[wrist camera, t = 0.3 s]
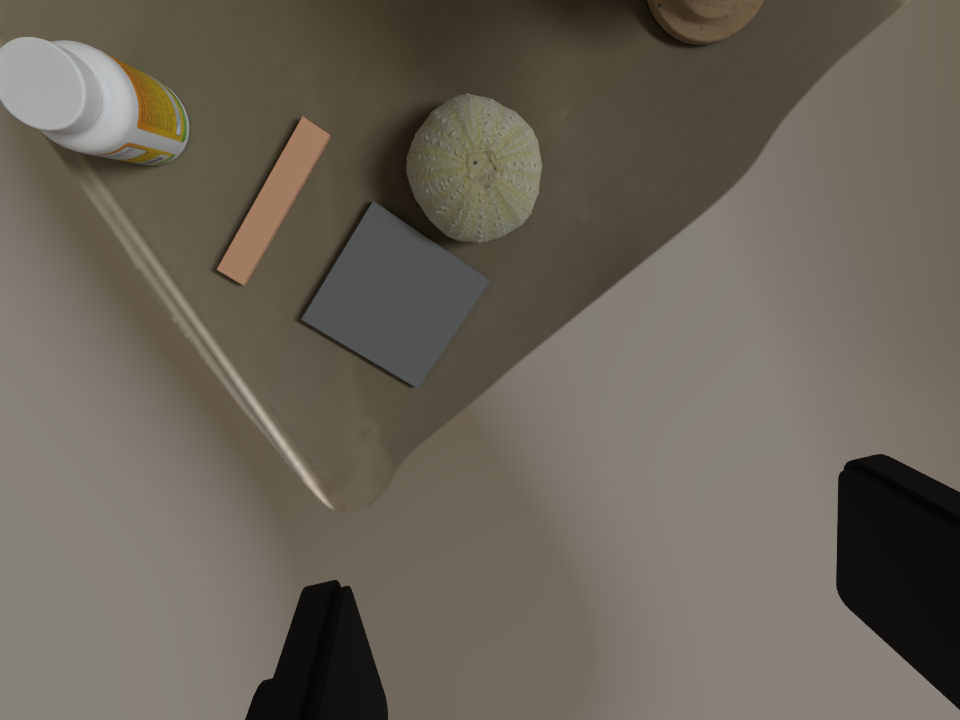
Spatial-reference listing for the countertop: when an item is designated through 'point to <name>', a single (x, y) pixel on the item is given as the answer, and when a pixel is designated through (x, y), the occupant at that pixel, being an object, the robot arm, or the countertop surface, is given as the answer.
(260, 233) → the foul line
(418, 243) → the pad
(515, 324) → the countertop surface
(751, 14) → the candle holder
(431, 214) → the sea urchin shell
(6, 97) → the supplement bottle
